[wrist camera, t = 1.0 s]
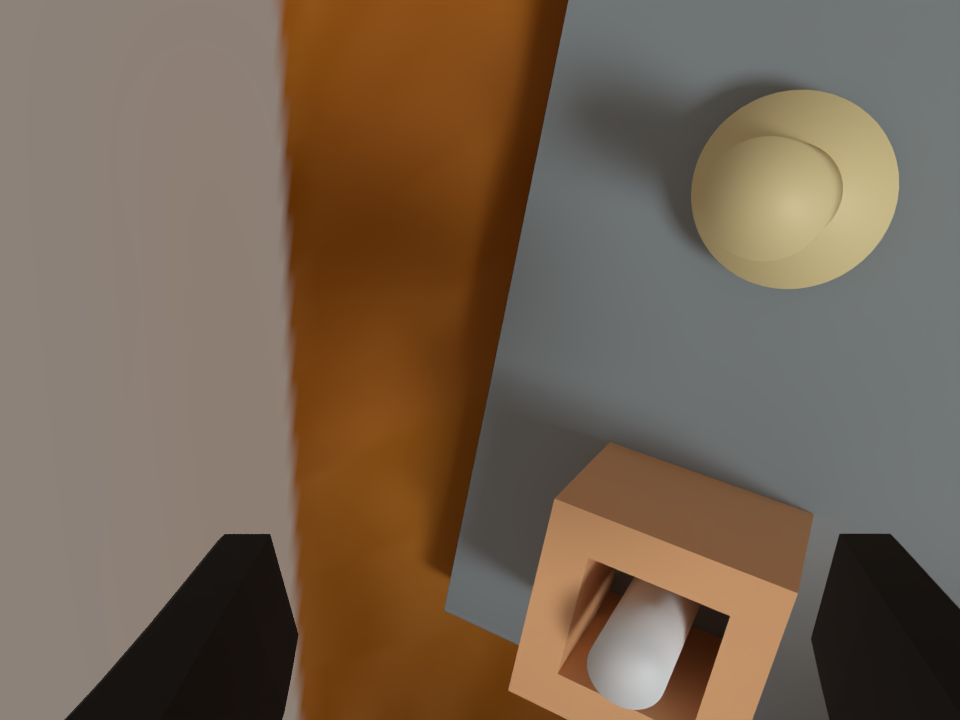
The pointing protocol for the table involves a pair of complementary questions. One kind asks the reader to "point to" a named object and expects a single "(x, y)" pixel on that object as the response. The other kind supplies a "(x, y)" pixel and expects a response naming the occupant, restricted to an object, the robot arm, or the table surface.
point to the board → (732, 302)
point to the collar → (661, 585)
